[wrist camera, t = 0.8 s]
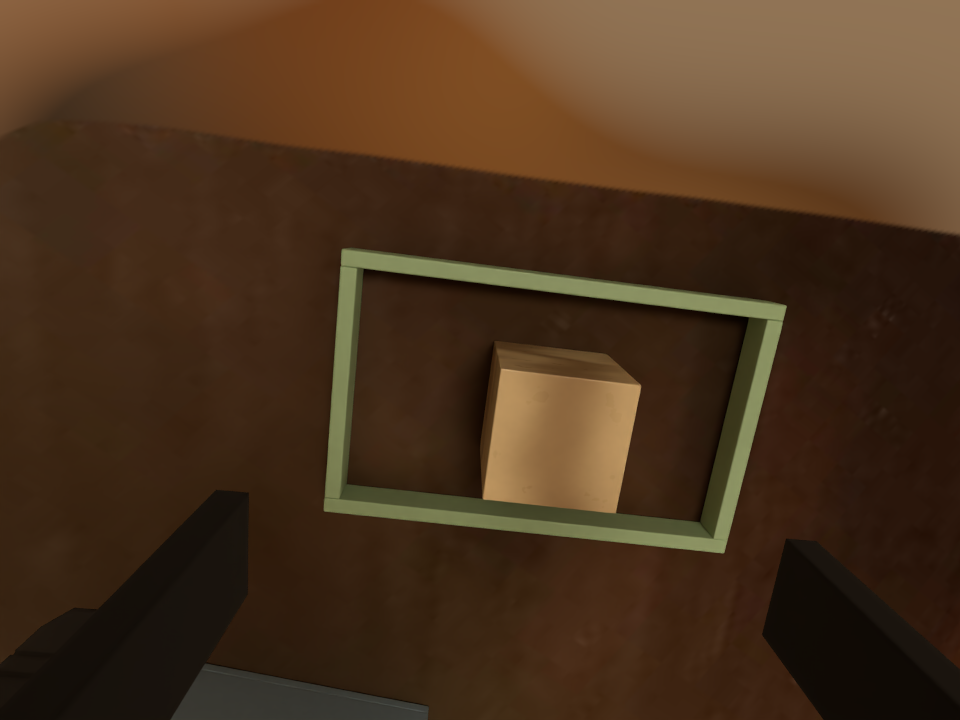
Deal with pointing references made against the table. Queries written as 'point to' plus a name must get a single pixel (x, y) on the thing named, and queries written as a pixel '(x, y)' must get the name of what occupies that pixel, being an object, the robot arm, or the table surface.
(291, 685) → the bin
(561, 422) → the block
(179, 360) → the table surface
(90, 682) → the robot arm
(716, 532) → the frame
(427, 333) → the table surface
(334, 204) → the table surface
